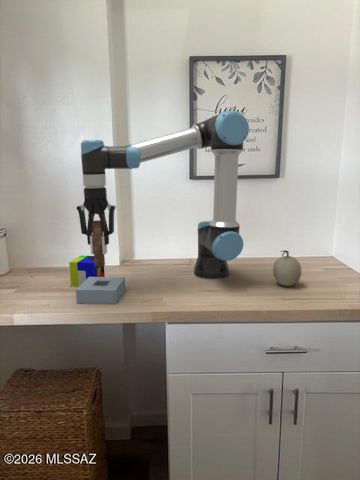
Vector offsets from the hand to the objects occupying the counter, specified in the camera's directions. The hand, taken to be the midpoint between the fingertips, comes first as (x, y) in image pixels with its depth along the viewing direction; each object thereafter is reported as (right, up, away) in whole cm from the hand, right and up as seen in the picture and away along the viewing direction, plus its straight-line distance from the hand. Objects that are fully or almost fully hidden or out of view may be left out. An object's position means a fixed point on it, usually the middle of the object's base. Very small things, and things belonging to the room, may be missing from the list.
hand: (99, 253), depth 125 cm
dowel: (0, -4, +1) cm, 4 cm away
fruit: (+70, -13, +13) cm, 73 cm away
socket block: (0, -16, +4) cm, 16 cm away
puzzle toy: (-9, -13, +19) cm, 24 cm away
